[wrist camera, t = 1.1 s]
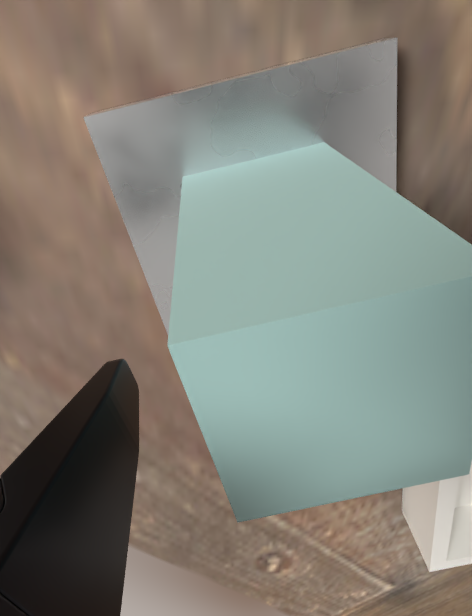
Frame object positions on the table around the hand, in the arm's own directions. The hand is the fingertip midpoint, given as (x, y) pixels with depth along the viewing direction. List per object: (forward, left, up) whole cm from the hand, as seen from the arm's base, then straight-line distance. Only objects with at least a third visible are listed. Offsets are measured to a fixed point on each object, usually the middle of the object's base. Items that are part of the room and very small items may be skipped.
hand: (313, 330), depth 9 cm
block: (0, 0, -7) cm, 7 cm away
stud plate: (0, 0, -8) cm, 8 cm away
